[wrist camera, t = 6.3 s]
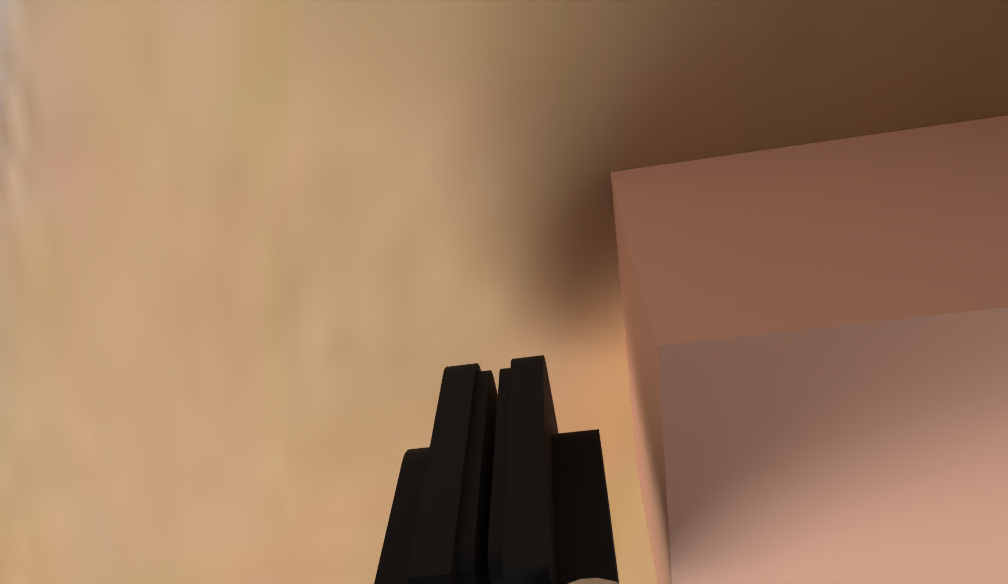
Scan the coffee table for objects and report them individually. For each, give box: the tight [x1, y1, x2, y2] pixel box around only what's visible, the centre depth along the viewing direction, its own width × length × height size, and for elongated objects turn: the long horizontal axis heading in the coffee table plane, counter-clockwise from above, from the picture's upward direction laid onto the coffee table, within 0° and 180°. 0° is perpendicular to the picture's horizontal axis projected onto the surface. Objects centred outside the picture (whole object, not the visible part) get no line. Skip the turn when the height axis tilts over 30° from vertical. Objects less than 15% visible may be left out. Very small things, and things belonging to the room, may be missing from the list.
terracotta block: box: [611, 115, 1008, 584], centre depth 10 cm, size 7×7×5 cm
